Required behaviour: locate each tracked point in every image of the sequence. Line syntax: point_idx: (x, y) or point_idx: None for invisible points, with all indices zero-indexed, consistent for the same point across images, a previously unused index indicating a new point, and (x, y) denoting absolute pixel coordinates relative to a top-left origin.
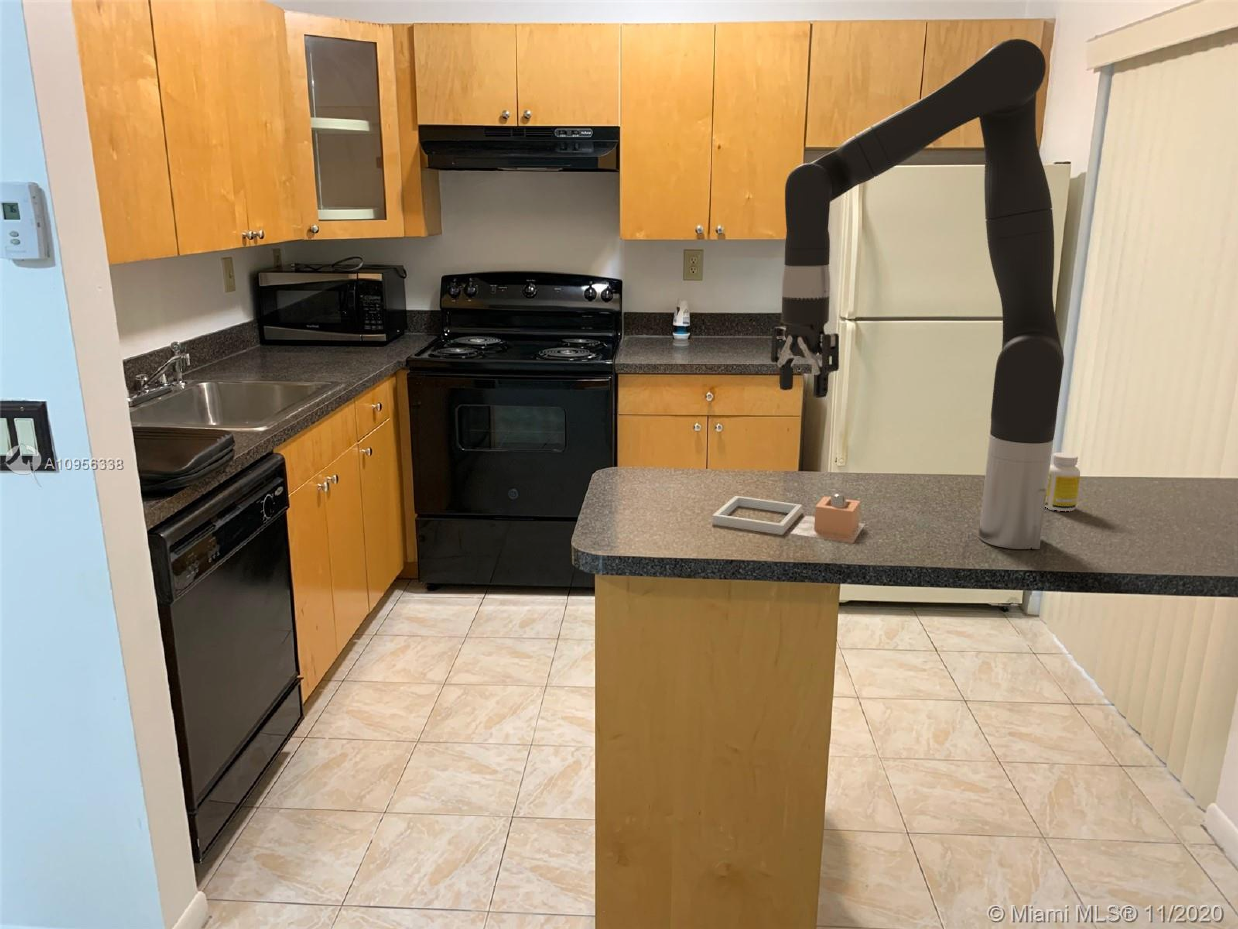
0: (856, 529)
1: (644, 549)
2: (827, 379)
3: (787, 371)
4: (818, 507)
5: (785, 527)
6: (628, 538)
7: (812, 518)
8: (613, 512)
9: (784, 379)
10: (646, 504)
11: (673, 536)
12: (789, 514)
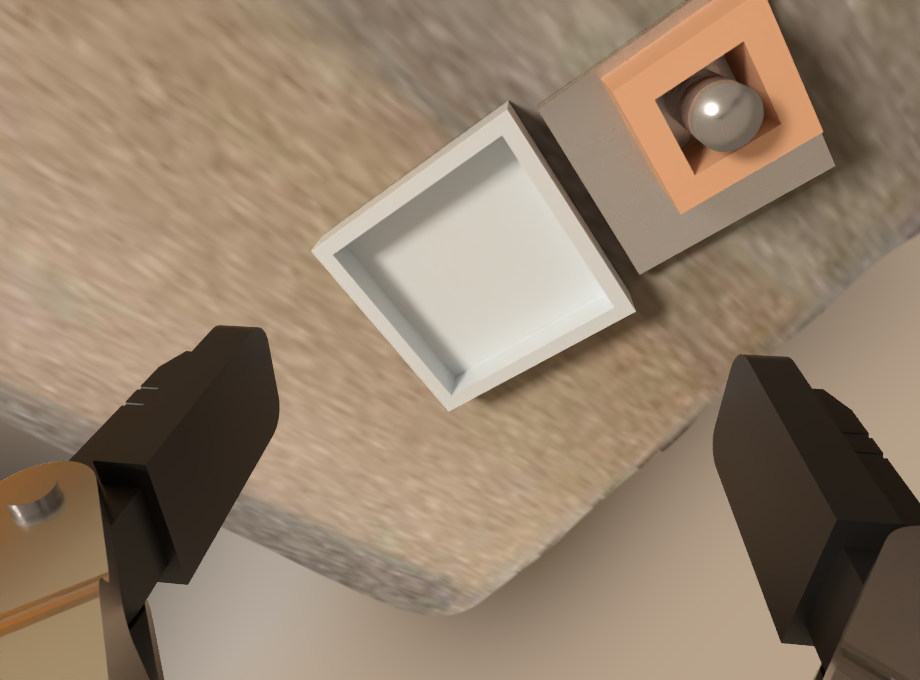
0: None
1: (488, 551)
2: (916, 516)
3: (191, 504)
4: (690, 207)
5: (618, 280)
6: (413, 544)
7: (574, 110)
8: None
9: (236, 469)
10: None
11: (448, 476)
12: (566, 225)
